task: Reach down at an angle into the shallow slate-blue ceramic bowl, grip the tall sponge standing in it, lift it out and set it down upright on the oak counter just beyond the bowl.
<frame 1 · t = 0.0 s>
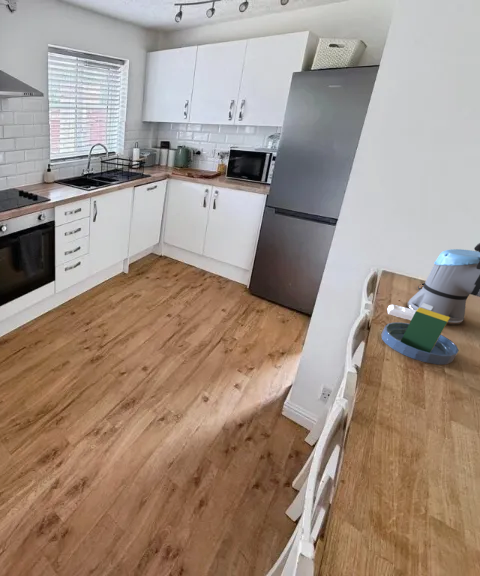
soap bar: (402, 317, 126), on the table
bowl: (414, 347, 109), on the table
sponge: (415, 346, 109), resting on bowl
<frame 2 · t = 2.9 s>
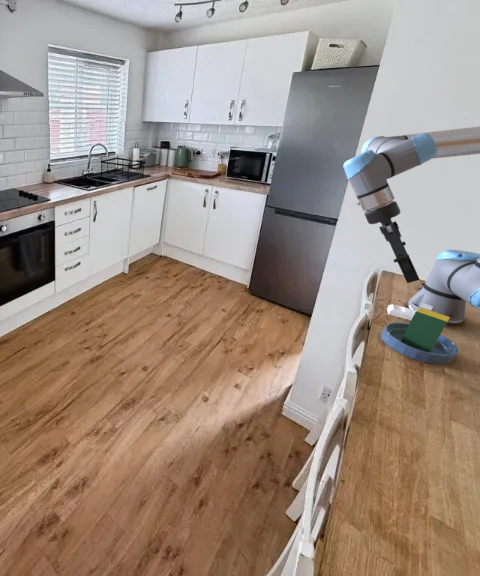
hand: (410, 274, 104), 22 cm above the table, tool tilted 35°, fingers open, 13 cm apart
nothing on the table moved.
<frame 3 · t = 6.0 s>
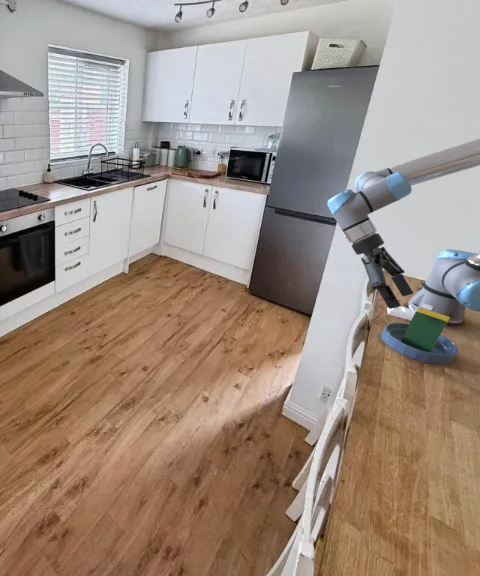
hand: (401, 301, 109), 12 cm above the table, tool tilted 45°, fingers open, 13 cm apart
nothing on the table moved.
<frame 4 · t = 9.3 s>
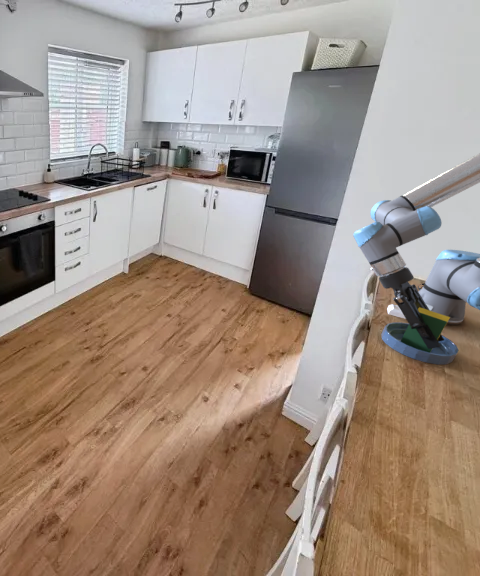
hand: (436, 344, 105), 3 cm above the table, tool tilted 45°, fingers closed on sponge, 4 cm apart
sponge: (415, 346, 109), point 1 cm above the table, touching bowl, gripper
everything else where it was.
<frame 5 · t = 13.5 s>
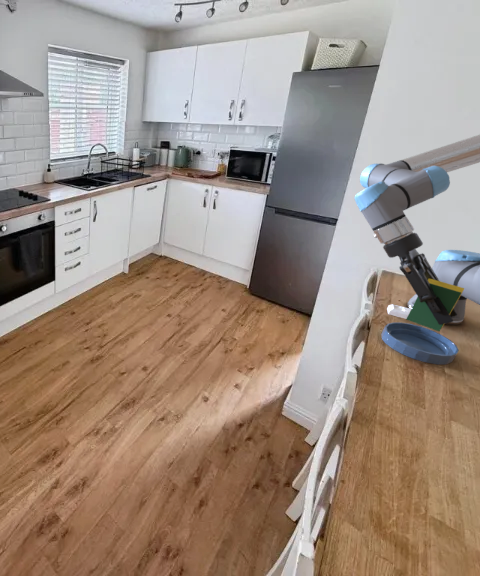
hand: (448, 319, 92), 16 cm above the table, tool tilted 45°, fingers closed on sponge, 4 cm apart
sponge: (424, 322, 96), point 13 cm above the table, touching gripper
everything else where it was.
when the fingers open (3 cm above the table, at t = 17.5 s): sponge stays where it is, on the table.
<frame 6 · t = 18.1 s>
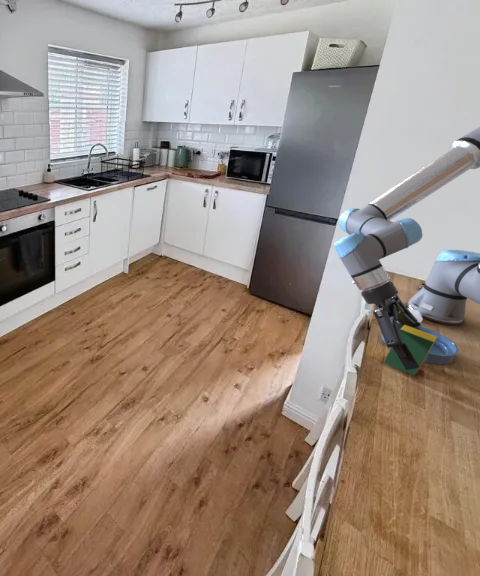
hand: (419, 359, 97), 4 cm above the table, tool tilted 45°, fingers open, 12 cm apart
sponge: (400, 366, 100), on the table
everything else where it was.
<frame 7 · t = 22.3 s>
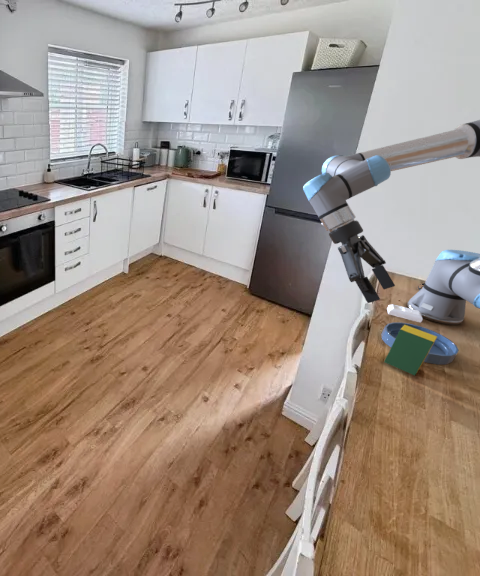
hand: (382, 294, 100), 18 cm above the table, tool tilted 45°, fingers open, 13 cm apart
nothing on the table moved.
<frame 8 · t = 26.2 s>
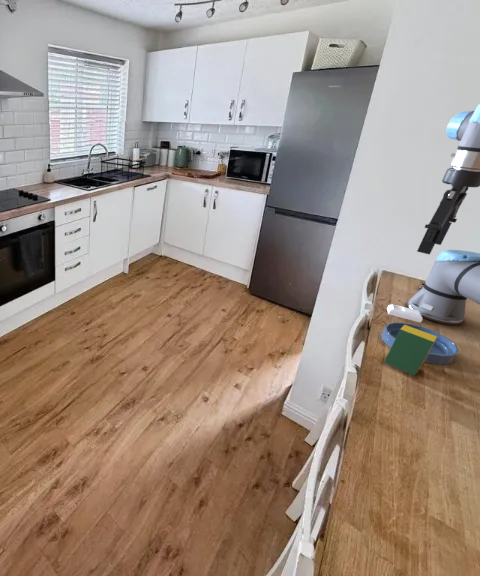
hand: (429, 248, 103), 29 cm above the table, tool pointing down, fingers open, 13 cm apart
nothing on the table moved.
at the end: sponge inside the target area (0.4 cm from its centre), on the table; sponge touching table; the gripper is holding nothing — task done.
